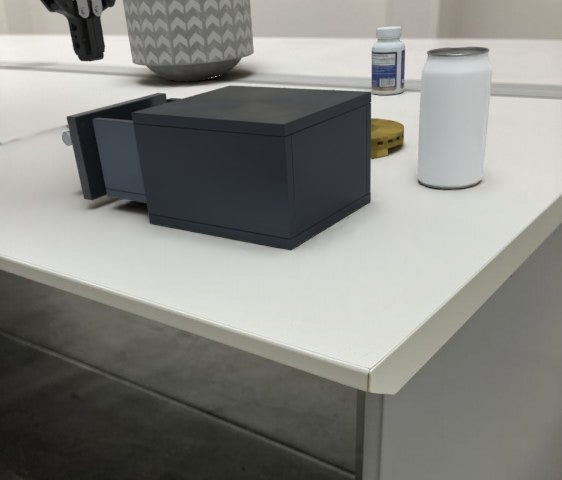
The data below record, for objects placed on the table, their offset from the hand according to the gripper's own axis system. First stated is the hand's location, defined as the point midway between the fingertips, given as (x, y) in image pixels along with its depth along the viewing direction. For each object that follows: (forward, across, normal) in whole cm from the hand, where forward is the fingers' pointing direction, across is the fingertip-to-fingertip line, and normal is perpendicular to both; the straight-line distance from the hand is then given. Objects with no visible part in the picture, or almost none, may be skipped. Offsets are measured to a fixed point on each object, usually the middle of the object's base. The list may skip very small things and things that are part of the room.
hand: (91, 60), depth 67 cm
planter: (+13, -67, -46) cm, 82 cm away
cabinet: (+13, 0, +20) cm, 24 cm away
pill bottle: (+12, -60, +2) cm, 61 cm away
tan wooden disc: (+13, -25, +16) cm, 32 cm away
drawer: (+12, 0, +7) cm, 14 cm away
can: (+12, -16, +32) cm, 38 cm away
